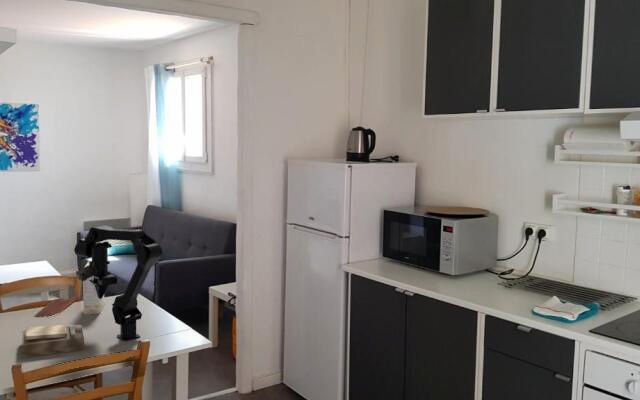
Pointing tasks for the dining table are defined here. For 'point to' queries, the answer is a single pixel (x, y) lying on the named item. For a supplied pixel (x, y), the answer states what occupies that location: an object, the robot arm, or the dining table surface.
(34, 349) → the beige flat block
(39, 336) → the oak plank
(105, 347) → the dining table surface
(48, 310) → the wooden tablet
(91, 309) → the coffeecake box
